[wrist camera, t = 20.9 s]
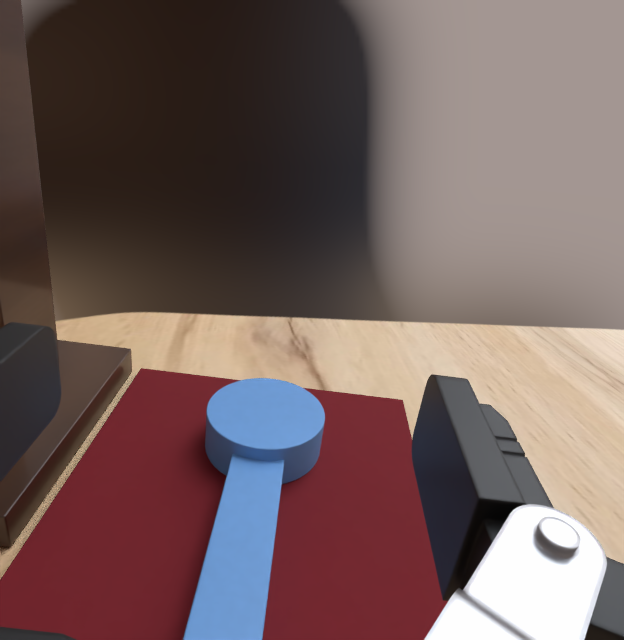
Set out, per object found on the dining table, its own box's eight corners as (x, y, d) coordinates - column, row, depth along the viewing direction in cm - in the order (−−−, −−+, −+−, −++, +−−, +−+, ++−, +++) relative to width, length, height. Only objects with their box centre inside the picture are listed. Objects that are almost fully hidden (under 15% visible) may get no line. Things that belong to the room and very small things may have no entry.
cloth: (-237, 947, 9) (-242, 942, 9) (141, 372, 28) (140, 368, 28) (541, 1021, 10) (546, 1015, 10) (401, 404, 29) (402, 399, 29)
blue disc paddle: (-26, 1090, 8) (-47, 1056, 7) (218, 404, 26) (219, 371, 25) (298, 1119, 8) (313, 1090, 8) (320, 417, 26) (325, 385, 25)
